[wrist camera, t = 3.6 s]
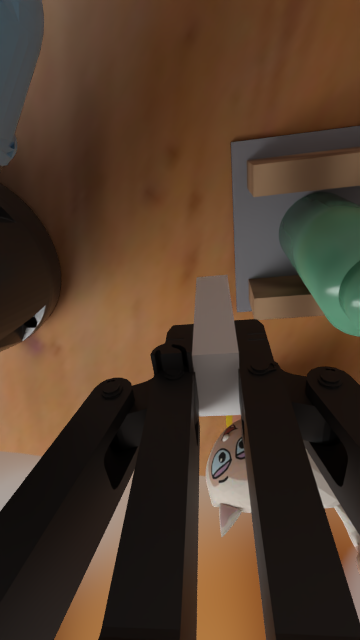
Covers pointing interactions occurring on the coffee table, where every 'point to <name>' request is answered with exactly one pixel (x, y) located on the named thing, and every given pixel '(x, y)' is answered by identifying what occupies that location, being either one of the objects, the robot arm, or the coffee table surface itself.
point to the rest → (291, 177)
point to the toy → (232, 483)
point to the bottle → (326, 254)
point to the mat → (273, 204)
